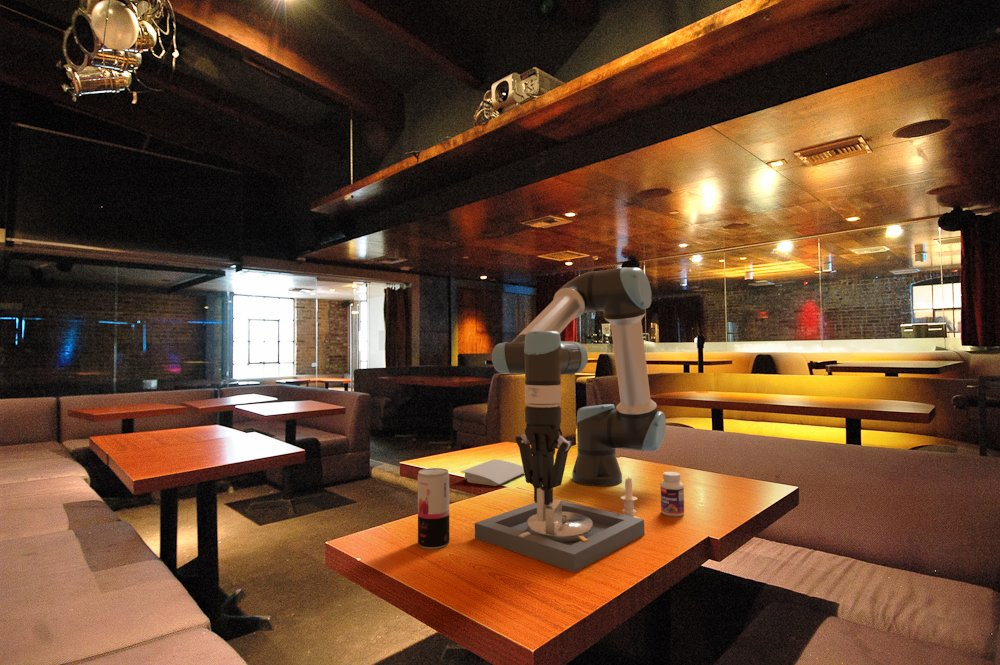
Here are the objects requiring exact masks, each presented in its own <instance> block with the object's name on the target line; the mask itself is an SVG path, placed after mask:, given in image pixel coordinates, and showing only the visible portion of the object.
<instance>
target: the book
mask: <svg viewBox="0 0 1000 665" xmlns="http://www.w3.org/2000/svg"><path fill="white" fill-rule="evenodd" d="M460 473H464V479H466V481H467V483H471V484H477V485H478V484H479V485H485V486H486V485H487V486H493V487H499V486H500V485H503V484H505V483H507V482H510V481H511V480H513V479H516V478H517V477H518V478H519V476H522V475H525V474H524V469H523V465H520V464H518V463H515V462H510V461H507V460H503V459H495V458H493V459H491V460H488V461H485V462H483V463H480V464H477V465H473V466H471V467H469V468H467V469H464V470H460Z"/></svg>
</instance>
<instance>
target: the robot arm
mask: <svg viewBox="0 0 1000 665" xmlns="http://www.w3.org/2000/svg"><path fill="white" fill-rule="evenodd" d="M651 305H652V289H651V284H650V281H649V278H648V276H647V275H646V273H645V271H643V269H641V268H639V267H620V268H619V267H618V268H611V269H604V270H596V271H595V270H594V271H589V272H585V273H583V274H580V275H578V276H576V277H574V278H572V279H571V280H569V281H567V283H565V284H563V286H562V287H560V288H559V289H558V290H557V291H556V292H555V293H554V296H553V299H552V301H551V302H550V303H549V304H548V305H547V306H546V307H545V308H544V309H543V310H542V311H541V312H540V313H539V314H538V315H537V316H536V317H535V318H534V319H533V320H532V321H531V322H530V323H529V324H528V325H527V326H526V327H525V328H524V329H522V331H521V332H520V333H519V334H518V335H517V336H516V337H515V338H513V339H512V341H511V342H508V341H505V342H501V343H497V344H496V345H495V346H494V347H493V349H492V353H491V362H492V365H493V368H494V370H495V371H496V372H498V373H500V374H509V375H524V402H525V404H527V405H526V406H525V407H524V423H525V425H526V426H525V428H524V433H522V434H520V435H519V436H516V437H515V442H516V445H517V446H518V448H519V453H520V459H521V463H522V466H523V469H524V474H523V475H524V479H525V482H526V483H527V484H530V485H532V487H533V493H534V494H533V501H534V503H537V521H541V522H544V521H546V515H545V509H546V508H547V506H548V505H550V504H552V502H553V499H554V488H556V487H559V486H562V483H563V478H564V473H565V468H566V465H567V464H566V463H567V459H568V454H569V451H570V450H571V448H572V446H573V442H572V441H571V440H567V439H566V438H565V437H564V436H563V431H562V430H561V423H562V408H561V406H559V405H560V404H561V403H562V383H561V379H562V378H561V377H562V376H563V375H566V376H567V375H570V376H572V375H573V376H574V374H578V373H580V372H582V371H583V370H585V368H586V366H587V364H588V360H589V359H588V358H589V357H588V352H587V350H586V348H585V347H584V346H583V345H582V344H581V343H579V342H577V341H574V340H566V341H565V340H561V333H562V332H563V331H564V330H565V329H566V328H567V326H568V325H569V324H570V323H571V322H572V321H573V320H575V319H578V318H579V317H581V316H582V315H583V314H585V313H590V312H603V318H604V319H605V321H607V322H608V323H609V324H610V330H611V338H612V346H613V355H614V362H615V369H616V370H615V371H616V378H617V384H618V391H619V400H620V402H619V403H618V404H617V405H616V406H615V404H613V403H612V404H611V403H607V404H597V405H589V406H588V405H587V406H583V407H580V408H578V409H577V413H576V415H577V416H576V436H577V438H576V440H577V446H576V447H577V455H576V459H575V462H574V465H573V468H572V469H573V470H572V473H571V474H572V481H573V482H574V483H578V484H579V485H580V484H581V485H586V486H596V487H599V486H600V487H604V486H605V487H607V486H614V485H618V484H620V483H622V481H623V475H622V474H623V473H622V471H621V467H620V465H619V461H618V459H617V456H616V453H617V452H616V449H621V450H631V451H641V452H656V451H658V450H660V448H661V447H662V445H663V442H664V439H665V434H666V433H665V432H666V427H667V426H666V425H667V420H666V415H665V412H663V411H660V410H659V411H658V406H657V403H656V402H655V401H654V400H653V399H651V392H650V384H649V382H650V381H649V377H648V376H649V374H648V366H647V365H648V364H647V358H646V350H645V341H644V334H643V333H644V331H643V325H642V320H643V318H644V317H645V315H646V314H647V310H646V309H648V308H650V307H651ZM556 447H557V448H558V449H557V451H556ZM555 453H556V454H555Z"/></svg>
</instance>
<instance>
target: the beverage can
mask: <svg viewBox="0 0 1000 665" xmlns="http://www.w3.org/2000/svg"><path fill="white" fill-rule="evenodd" d="M450 537H451V535H450V473H449V469H446V468H441V467H430V468H424V469H420V470H419V471H418V474H417V544H418V545H419V546H420V547H421V548H422V549H427V550H436V549H437V550H438V549H442V548H444V547H446V546H447V545H448V544H449V543H450Z"/></svg>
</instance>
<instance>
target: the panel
mask: <svg viewBox="0 0 1000 665" xmlns="http://www.w3.org/2000/svg"><path fill="white" fill-rule="evenodd" d="M554 499H555V500H559V499H556V498H553V500H554ZM562 512H572V513H577V514H581V515H584V516H586V517H588V518H590V519H591V520H592V522H593V534H592V535H591V536H590V537H588V538H585V537H584V536H578V538H579V539H581V541H577V542H567V543H560V542H557V541H553V540H550V539H547V538H543V537H540V536H537V535H534V534H531V533H530V532H528V530H527V520H528V518H529V517H531V516H533V515H535V514H537V503H535V502H532V503H529V504H527V505H523V506H521V507H518V508H514V509H512V510H509V511H506V512H503V513H500V514H497V515H494V516H491V517H489V518H485V519H483V520H479V521H477V522H474V539H476V540H480V541H482V542H486V543H488V544H491V545H494V546H496V547H500V548H502V549H505V550H508V551H511V552H514V553H516V554H520V555H522V556H526V557H529V558H531V559H535V560H537V561H541V562H542V563H543V562H544V563H546V564H549V565H551V566H555V567H558V568H560V569H562V570H563V569H564V570H566V571H569V572H572V573H576V572H579V571H580V570H583V569H584V568H586V567H587V566H590V565H591V564H593V563H594V562H597V561H598V560H600V559H602V558H605V557H606V556H607V555H610V554H611V553H613V552H615V551H617V550H618V549H622V548H623V547H624V546H627V545H628V544H630V543H632V542H633V541H636V540H637V539H640V537H642V536H644V535H645V519H642V518H640V517H638V518H635V517H631V516H626V515H625V514H623V513H622V514H621V513H619V512H617V513H616V512H612V511H608V510H605V509H604V510H603V509H601V508H600V509H599V508H595V507H591V506H586V505H583V504H578V503H574V502H570V501H565V500H562ZM639 518H640V519H639Z"/></svg>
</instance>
